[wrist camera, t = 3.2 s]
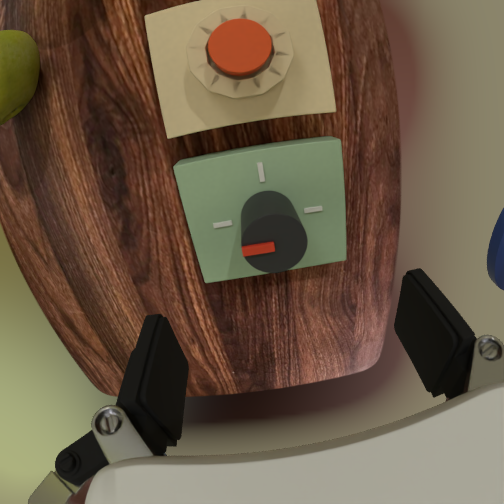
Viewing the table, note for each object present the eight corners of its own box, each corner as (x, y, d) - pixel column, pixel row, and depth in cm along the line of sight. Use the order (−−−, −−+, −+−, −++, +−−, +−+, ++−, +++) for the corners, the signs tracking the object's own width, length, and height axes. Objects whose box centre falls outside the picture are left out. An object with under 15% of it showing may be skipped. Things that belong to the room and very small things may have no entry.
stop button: (263, 22, 14) (266, 14, 12) (273, 71, 15) (276, 68, 14) (206, 31, 14) (203, 24, 12) (216, 80, 15) (213, 77, 14)
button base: (306, -2, 15) (319, -20, 12) (327, 111, 20) (345, 113, 16) (152, 22, 16) (135, 9, 12) (174, 136, 20) (160, 142, 17)
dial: (291, 186, 20) (306, 210, 16) (297, 236, 22) (311, 270, 18) (236, 195, 20) (235, 222, 16) (245, 244, 22) (247, 280, 18)
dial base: (330, 135, 21) (341, 139, 18) (338, 246, 26) (347, 261, 23) (179, 160, 21) (172, 167, 19) (207, 267, 26) (204, 284, 24)
